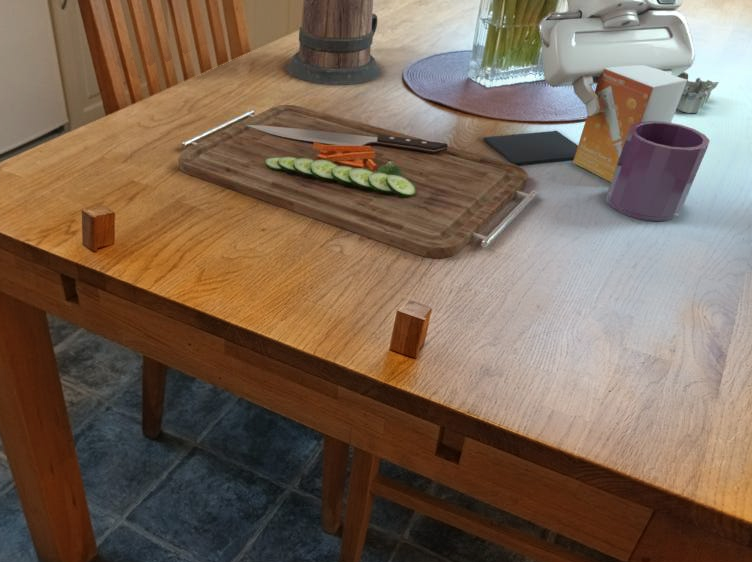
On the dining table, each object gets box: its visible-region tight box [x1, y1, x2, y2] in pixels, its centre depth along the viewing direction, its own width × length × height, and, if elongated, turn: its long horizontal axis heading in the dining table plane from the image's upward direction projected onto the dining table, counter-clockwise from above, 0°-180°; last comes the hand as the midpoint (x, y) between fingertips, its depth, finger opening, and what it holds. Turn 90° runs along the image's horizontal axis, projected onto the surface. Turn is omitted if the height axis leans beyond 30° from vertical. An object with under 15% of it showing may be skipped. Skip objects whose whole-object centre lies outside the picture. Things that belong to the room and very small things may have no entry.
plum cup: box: [605, 121, 710, 222], centre depth 87 cm, size 9×9×9 cm
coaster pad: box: [483, 130, 578, 166], centre depth 103 cm, size 12×9×1 cm
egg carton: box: [676, 71, 719, 114], centre depth 117 cm, size 11×8×4 cm
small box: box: [572, 65, 687, 183], centre depth 93 cm, size 8×6×13 cm
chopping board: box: [178, 104, 538, 259], centre depth 94 cm, size 45×27×3 cm, turn 54°
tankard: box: [286, 0, 381, 86], centre depth 125 cm, size 24×17×20 cm
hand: (629, 111), depth 92 cm, fingers open, 8 cm apart
